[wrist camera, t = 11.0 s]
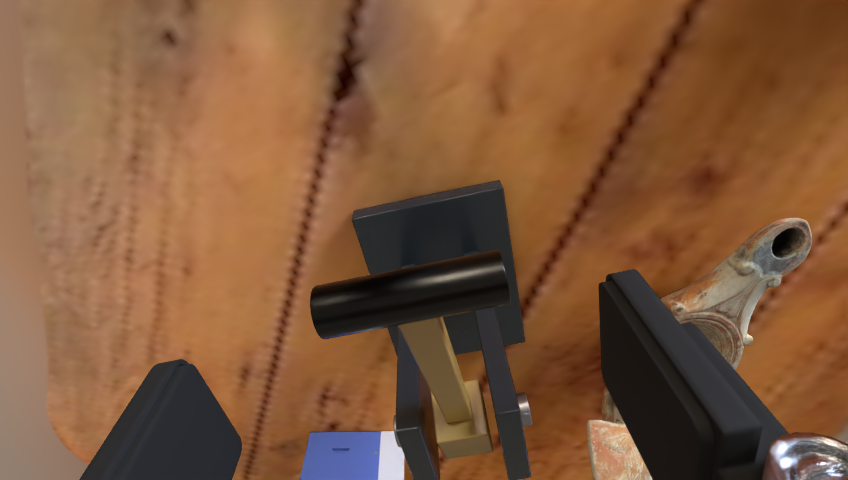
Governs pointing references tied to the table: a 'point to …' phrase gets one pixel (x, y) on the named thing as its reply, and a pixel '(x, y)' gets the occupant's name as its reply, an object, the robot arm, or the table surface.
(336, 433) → the walkman
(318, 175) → the table surface
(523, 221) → the table surface
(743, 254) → the oil lamp
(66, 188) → the table surface
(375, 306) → the switch lever
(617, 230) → the table surface
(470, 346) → the switch base
